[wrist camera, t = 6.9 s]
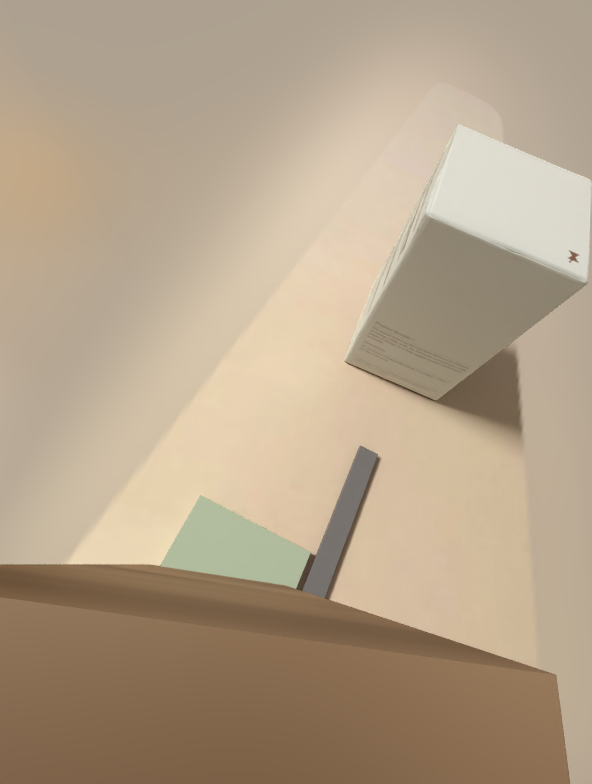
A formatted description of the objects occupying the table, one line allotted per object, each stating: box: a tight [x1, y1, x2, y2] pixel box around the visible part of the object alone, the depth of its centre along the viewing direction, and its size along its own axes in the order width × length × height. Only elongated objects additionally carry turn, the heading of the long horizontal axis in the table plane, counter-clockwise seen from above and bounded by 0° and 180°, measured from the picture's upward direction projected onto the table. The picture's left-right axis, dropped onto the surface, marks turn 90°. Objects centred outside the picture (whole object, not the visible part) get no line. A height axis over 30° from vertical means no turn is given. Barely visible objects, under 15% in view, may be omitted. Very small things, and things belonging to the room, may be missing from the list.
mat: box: [160, 495, 311, 589], centre depth 19 cm, size 10×7×1 cm
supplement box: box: [345, 124, 592, 401], centre depth 23 cm, size 7×7×13 cm
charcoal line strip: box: [302, 446, 378, 598], centre depth 19 cm, size 22×1×1 cm, turn 155°
